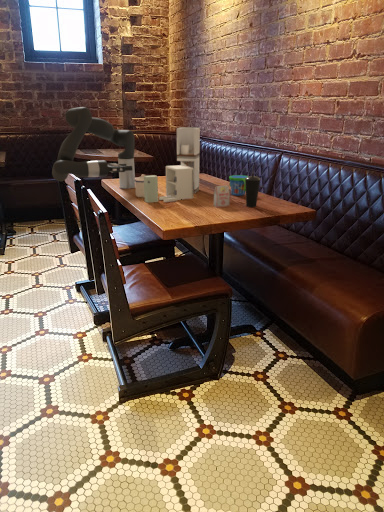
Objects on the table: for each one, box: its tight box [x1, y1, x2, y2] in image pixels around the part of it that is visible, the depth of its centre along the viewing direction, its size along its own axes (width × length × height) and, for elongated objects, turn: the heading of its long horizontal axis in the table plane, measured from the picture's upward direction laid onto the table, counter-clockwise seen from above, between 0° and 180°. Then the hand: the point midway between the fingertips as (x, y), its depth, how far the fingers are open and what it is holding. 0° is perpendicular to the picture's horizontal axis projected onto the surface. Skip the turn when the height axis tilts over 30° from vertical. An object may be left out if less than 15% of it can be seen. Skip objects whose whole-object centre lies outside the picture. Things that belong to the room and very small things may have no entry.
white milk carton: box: [213, 185, 230, 208], centre depth 198 cm, size 4×7×10 cm, turn 109°
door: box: [144, 174, 159, 204], centre depth 206 cm, size 5×6×13 cm
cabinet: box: [158, 164, 194, 203], centre depth 214 cm, size 15×18×16 cm
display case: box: [176, 127, 201, 194], centre depth 229 cm, size 11×11×35 cm
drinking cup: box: [245, 165, 261, 208], centre depth 197 cm, size 8×8×20 cm
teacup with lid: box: [135, 174, 146, 198], centre depth 221 cm, size 12×9×12 cm
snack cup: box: [228, 174, 249, 196], centre depth 224 cm, size 16×10×10 cm
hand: (129, 166), depth 197 cm, fingers open, 8 cm apart
